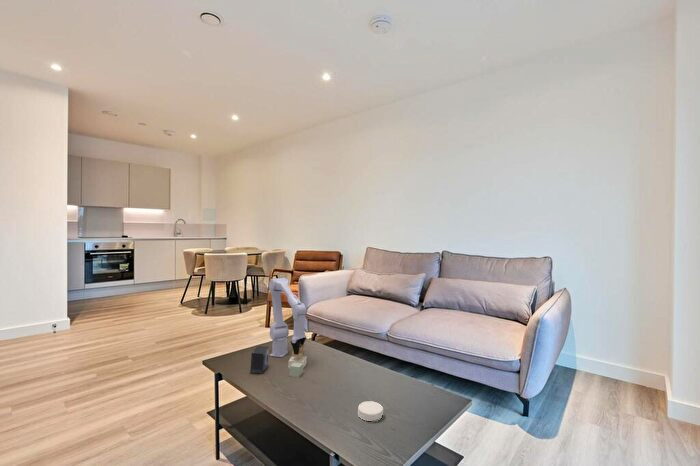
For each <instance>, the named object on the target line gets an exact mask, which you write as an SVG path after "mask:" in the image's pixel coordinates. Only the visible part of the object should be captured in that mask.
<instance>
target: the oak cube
mask: <svg viewBox="0 0 700 466" xmlns="http://www.w3.org/2000/svg"><path fill="white" fill-rule="evenodd" d="M291 348H292V349H291V357H292V356H293V357H302V356H305V344H304V345H300V348H299V353H298V355H296V354H294V351H293V347H292V346H291Z"/></svg>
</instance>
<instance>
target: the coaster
mask: <svg viewBox="0 0 700 466" xmlns="http://www.w3.org/2000/svg"><path fill="white" fill-rule="evenodd" d="M382 415H383V416H384V407H383V406H382V405H381V403H378V402H376V401H371V400H369V401H368V400H366V401H363V402H361V403H359V405H358V407H357V416H358V418H359V417H360V418H361V419H360V418H359V419H360V420H362V419H363V420H367V421H372V420H376V419H379V418H381V416H382ZM363 420H362V421H363Z"/></svg>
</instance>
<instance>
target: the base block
mask: <svg viewBox="0 0 700 466" xmlns="http://www.w3.org/2000/svg"><path fill="white" fill-rule="evenodd" d="M294 362H296V363H303V370H304V368H305V367H306V365H307V363H308V356H305V355H303V356H302V357H293V356H292V355H291V356H290V358H289V359H288V364H287V368H288V369H290V366H291V365H292V364H293V363H294Z"/></svg>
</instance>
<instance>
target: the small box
mask: <svg viewBox="0 0 700 466" xmlns="http://www.w3.org/2000/svg"><path fill="white" fill-rule="evenodd" d="M269 349H270V347H269V346H265V345H263V346H262V345H257V346H256V347H255V348H254V349H253V351H252V352H251V357H250V370H249V371H250V373H249V374H257V375H258V374H259V375H263V373H264V372H265V370H266V369H267V368H268V366H269V351H270V350H269Z"/></svg>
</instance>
